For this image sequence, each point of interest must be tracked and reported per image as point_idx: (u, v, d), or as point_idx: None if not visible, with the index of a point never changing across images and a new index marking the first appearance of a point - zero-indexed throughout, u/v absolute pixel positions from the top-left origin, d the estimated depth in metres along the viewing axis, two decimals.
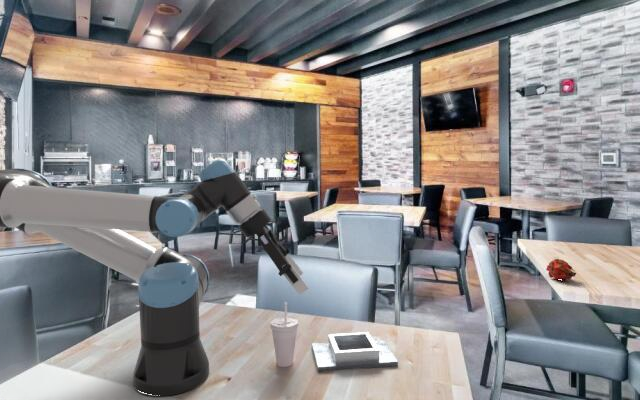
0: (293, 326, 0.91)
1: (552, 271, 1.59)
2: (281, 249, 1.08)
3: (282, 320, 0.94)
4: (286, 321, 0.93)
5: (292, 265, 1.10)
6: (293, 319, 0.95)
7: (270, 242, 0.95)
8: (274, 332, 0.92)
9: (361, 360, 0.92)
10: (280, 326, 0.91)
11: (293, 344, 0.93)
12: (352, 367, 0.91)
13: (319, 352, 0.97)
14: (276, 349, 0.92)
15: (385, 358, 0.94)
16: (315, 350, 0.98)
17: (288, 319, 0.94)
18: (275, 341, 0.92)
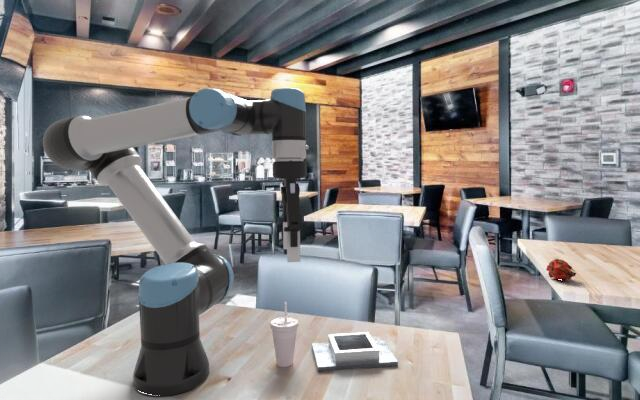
0: (293, 326, 0.91)
1: (552, 271, 1.59)
2: None
3: (282, 320, 0.94)
4: (286, 321, 0.93)
5: None
6: (293, 319, 0.95)
7: (296, 194, 0.85)
8: (274, 332, 0.92)
9: (361, 360, 0.92)
10: (280, 326, 0.91)
11: (293, 344, 0.93)
12: (352, 367, 0.91)
13: (319, 352, 0.97)
14: (276, 349, 0.92)
15: (385, 358, 0.94)
16: (315, 350, 0.98)
17: (288, 319, 0.94)
18: (275, 341, 0.92)
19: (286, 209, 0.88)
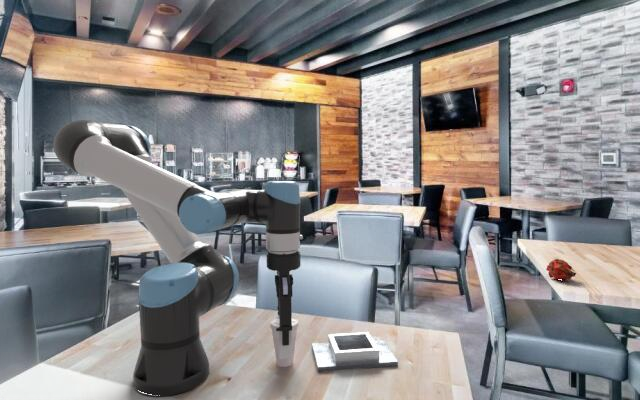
0: (293, 326, 0.91)
1: (552, 271, 1.59)
2: None
3: None
4: None
5: None
6: (293, 319, 0.95)
7: (289, 296, 0.87)
8: (274, 332, 0.92)
9: (361, 360, 0.92)
10: None
11: (293, 344, 0.93)
12: (352, 367, 0.91)
13: (319, 352, 0.97)
14: (276, 349, 0.92)
15: (385, 358, 0.94)
16: (315, 350, 0.98)
17: None
18: (275, 341, 0.92)
19: (279, 304, 0.90)
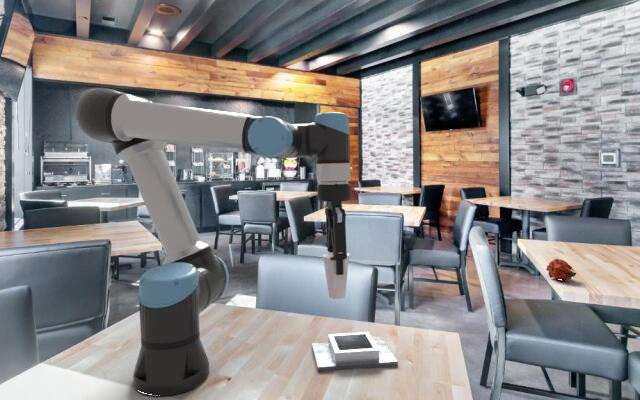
0: None
1: (552, 271, 1.59)
2: None
3: None
4: None
5: None
6: None
7: (343, 224, 0.87)
8: (327, 264, 0.92)
9: (361, 360, 0.92)
10: None
11: (346, 276, 0.93)
12: (352, 367, 0.91)
13: (319, 352, 0.97)
14: (329, 281, 0.93)
15: (385, 358, 0.94)
16: (315, 350, 0.98)
17: None
18: (328, 273, 0.93)
19: (332, 235, 0.91)
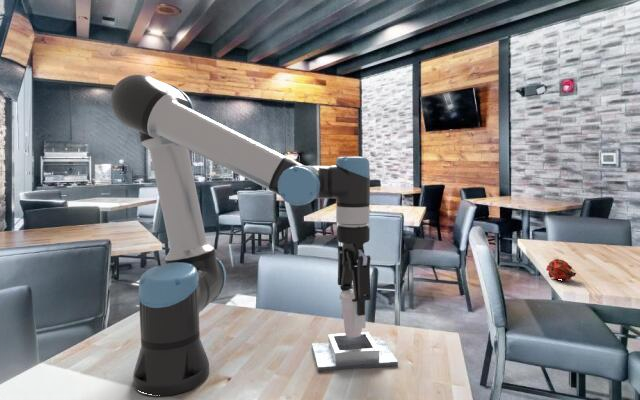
0: None
1: (552, 271, 1.59)
2: (350, 278, 0.99)
3: (350, 292, 0.96)
4: None
5: None
6: None
7: (367, 267, 0.90)
8: (346, 304, 0.94)
9: (361, 360, 0.92)
10: (353, 297, 0.93)
11: None
12: (352, 367, 0.91)
13: (319, 352, 0.97)
14: (347, 321, 0.95)
15: (385, 358, 0.94)
16: (315, 350, 0.98)
17: None
18: (347, 313, 0.94)
19: (353, 276, 0.92)
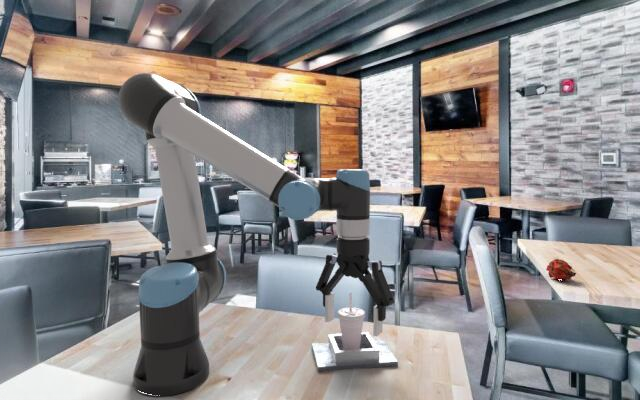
0: None
1: (552, 271, 1.59)
2: (335, 284, 1.00)
3: (348, 311, 0.97)
4: (353, 310, 0.97)
5: (331, 306, 1.00)
6: (351, 308, 0.99)
7: (381, 271, 0.92)
8: (351, 323, 0.94)
9: (361, 360, 0.92)
10: (357, 315, 0.94)
11: None
12: (352, 367, 0.91)
13: (319, 352, 0.97)
14: (351, 339, 0.95)
15: (385, 358, 0.94)
16: (315, 350, 0.98)
17: None
18: (351, 332, 0.94)
19: (367, 285, 0.92)
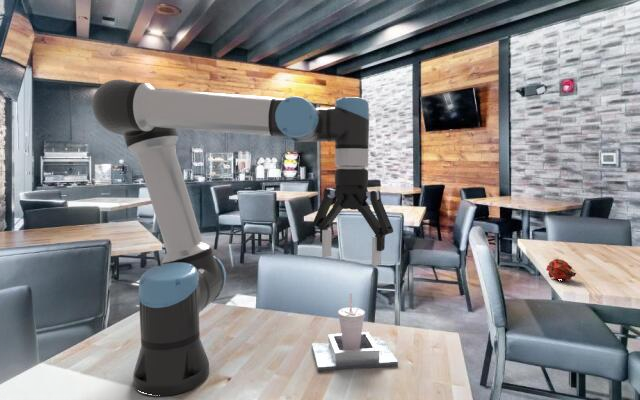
0: (364, 312, 0.97)
1: (552, 271, 1.59)
2: (333, 219, 0.98)
3: (348, 311, 0.97)
4: (353, 310, 0.97)
5: (328, 242, 0.99)
6: (351, 308, 0.99)
7: (380, 200, 0.90)
8: (351, 323, 0.94)
9: (361, 360, 0.92)
10: (358, 315, 0.94)
11: None
12: (352, 367, 0.91)
13: (319, 352, 0.97)
14: (351, 339, 0.95)
15: (385, 358, 0.94)
16: (315, 350, 0.98)
17: None
18: (351, 332, 0.94)
19: (365, 216, 0.91)
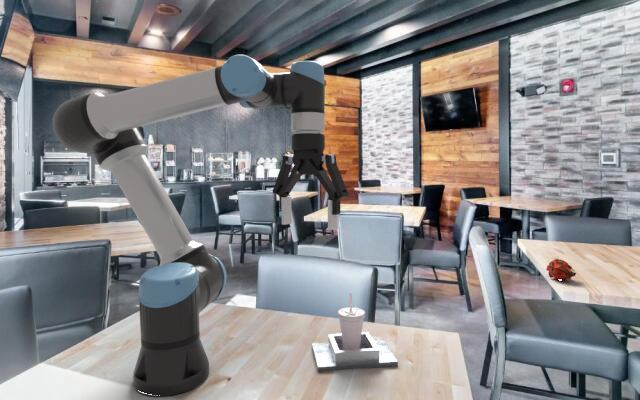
0: (364, 312, 0.97)
1: (552, 271, 1.59)
2: (292, 187, 0.98)
3: (348, 311, 0.97)
4: (353, 310, 0.97)
5: (288, 209, 0.99)
6: (351, 308, 0.99)
7: (335, 164, 0.90)
8: (351, 323, 0.94)
9: (361, 360, 0.92)
10: (357, 315, 0.94)
11: None
12: (352, 367, 0.91)
13: (319, 352, 0.97)
14: (351, 339, 0.95)
15: (385, 358, 0.94)
16: (315, 350, 0.98)
17: None
18: (351, 332, 0.94)
19: (321, 180, 0.91)
